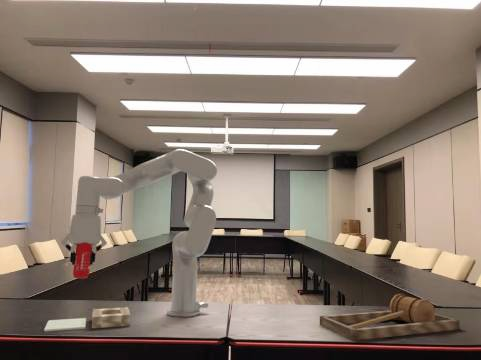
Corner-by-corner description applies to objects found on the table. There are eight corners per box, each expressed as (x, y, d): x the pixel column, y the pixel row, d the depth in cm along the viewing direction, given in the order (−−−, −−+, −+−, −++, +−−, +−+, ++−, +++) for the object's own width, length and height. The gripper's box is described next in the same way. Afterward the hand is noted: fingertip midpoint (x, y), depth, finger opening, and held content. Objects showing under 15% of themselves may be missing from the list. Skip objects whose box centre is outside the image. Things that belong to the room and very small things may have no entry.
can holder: (127, 317, 137) (127, 307, 138) (130, 325, 126) (130, 314, 127) (92, 319, 133) (92, 309, 133) (91, 328, 122) (92, 317, 122)
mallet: (331, 340, 129) (327, 311, 130) (410, 317, 144) (406, 291, 145) (355, 352, 118) (351, 319, 119) (438, 325, 133) (434, 297, 134)
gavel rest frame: (416, 316, 149) (416, 308, 149) (459, 329, 131) (459, 320, 131) (319, 324, 133) (319, 316, 133) (354, 340, 115) (354, 330, 115)
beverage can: (82, 278, 125) (87, 242, 126) (69, 277, 126) (73, 241, 127) (91, 277, 130) (96, 242, 131) (78, 276, 131) (83, 241, 132)
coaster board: (86, 319, 132) (86, 318, 132) (85, 328, 121) (85, 326, 121) (48, 322, 128) (48, 320, 128) (43, 331, 117) (44, 329, 117)
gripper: (112, 213, 137) (108, 263, 135) (61, 210, 131) (55, 263, 129) (113, 212, 130) (109, 265, 128) (59, 209, 124) (53, 265, 122)
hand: (82, 263), depth 128 cm, fingers closed on beverage can, 5 cm apart
